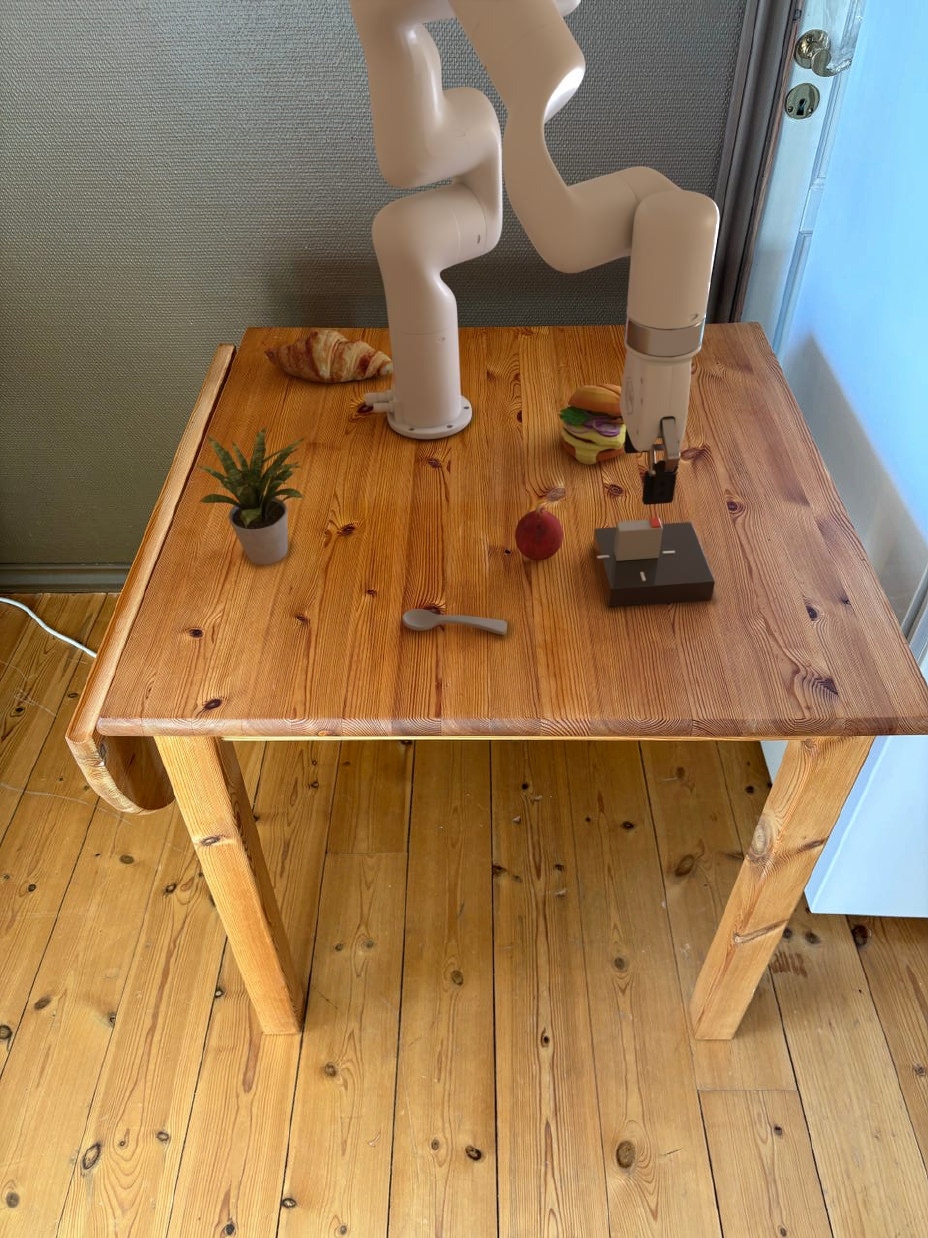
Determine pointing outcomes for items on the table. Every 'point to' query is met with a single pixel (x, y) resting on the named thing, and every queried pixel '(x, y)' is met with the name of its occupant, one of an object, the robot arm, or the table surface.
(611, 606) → the dial base
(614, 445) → the cheeseburger
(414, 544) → the table surface
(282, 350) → the croissant
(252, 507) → the house plant
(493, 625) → the spoon
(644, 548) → the knob
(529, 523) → the onion
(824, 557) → the table surface
